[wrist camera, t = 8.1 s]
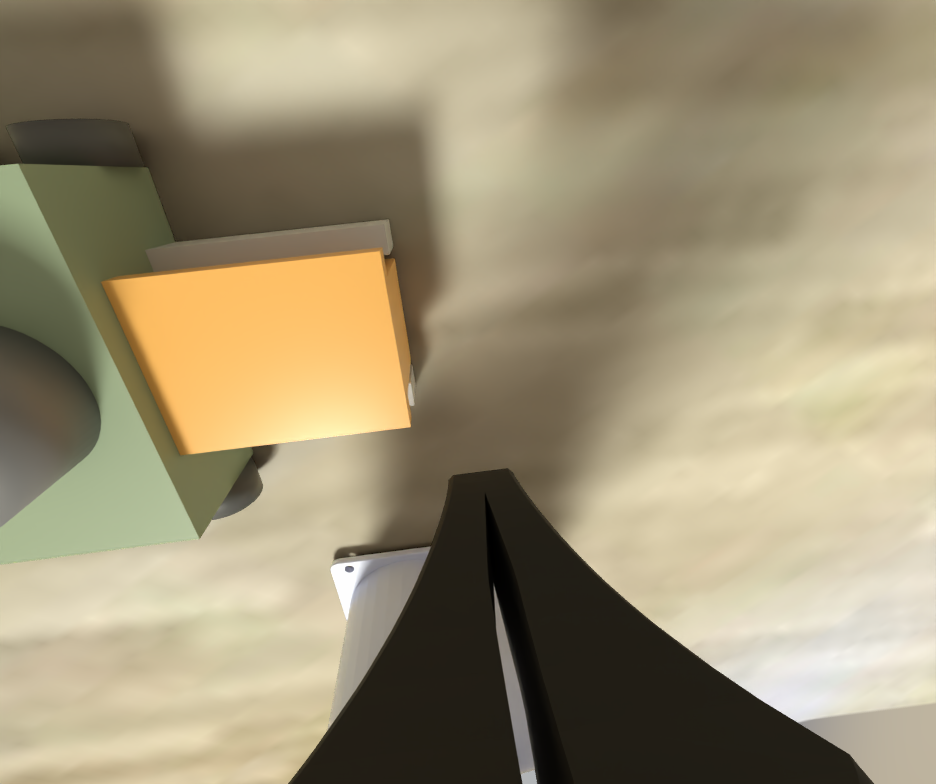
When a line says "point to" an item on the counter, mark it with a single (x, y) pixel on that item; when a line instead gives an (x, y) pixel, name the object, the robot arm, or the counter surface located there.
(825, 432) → the counter surface
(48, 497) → the mower housing
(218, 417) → the orange slab
